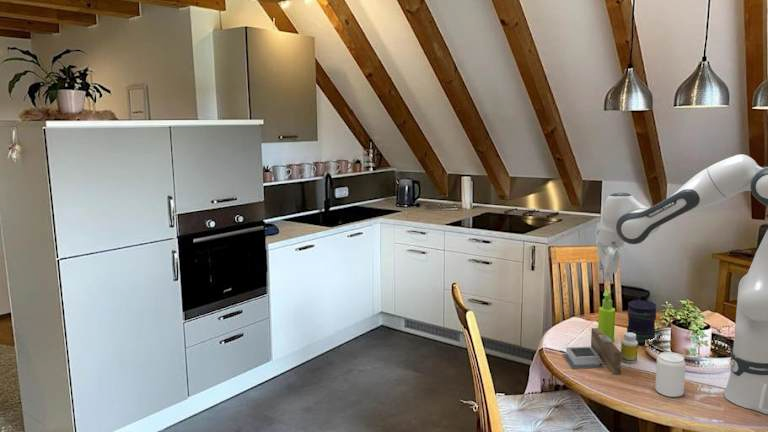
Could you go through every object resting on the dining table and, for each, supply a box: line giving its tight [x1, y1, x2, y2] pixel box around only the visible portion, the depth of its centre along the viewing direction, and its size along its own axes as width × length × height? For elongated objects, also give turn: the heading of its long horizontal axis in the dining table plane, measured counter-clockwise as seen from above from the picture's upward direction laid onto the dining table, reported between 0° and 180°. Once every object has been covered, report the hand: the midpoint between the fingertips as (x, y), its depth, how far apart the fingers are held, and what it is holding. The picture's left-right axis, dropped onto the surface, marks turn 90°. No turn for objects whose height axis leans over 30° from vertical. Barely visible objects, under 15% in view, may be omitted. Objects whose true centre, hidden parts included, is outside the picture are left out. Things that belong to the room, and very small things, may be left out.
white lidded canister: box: [654, 351, 686, 398], centre depth 185 cm, size 8×8×12 cm
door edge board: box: [590, 327, 622, 376], centre depth 209 cm, size 3×22×9 cm, turn 0°
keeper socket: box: [562, 346, 605, 370], centre depth 209 cm, size 11×11×4 cm
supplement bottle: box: [620, 331, 639, 364], centre depth 208 cm, size 5×5×10 cm
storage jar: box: [626, 299, 657, 347], centre depth 224 cm, size 10×10×15 cm
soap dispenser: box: [597, 290, 616, 344], centre depth 224 cm, size 6×7×20 cm
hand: (603, 275), depth 206 cm, fingers open, 8 cm apart
